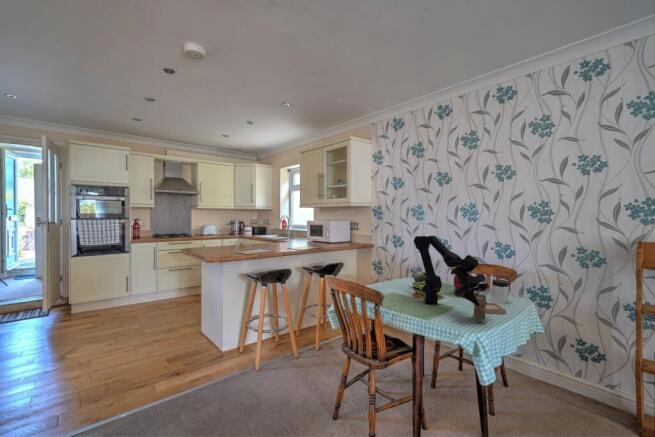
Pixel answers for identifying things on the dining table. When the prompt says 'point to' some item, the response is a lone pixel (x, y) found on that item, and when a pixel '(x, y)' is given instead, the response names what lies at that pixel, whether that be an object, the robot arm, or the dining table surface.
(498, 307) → the stand
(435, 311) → the dining table surface
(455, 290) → the plant pot
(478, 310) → the pepper mill
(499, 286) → the jar
